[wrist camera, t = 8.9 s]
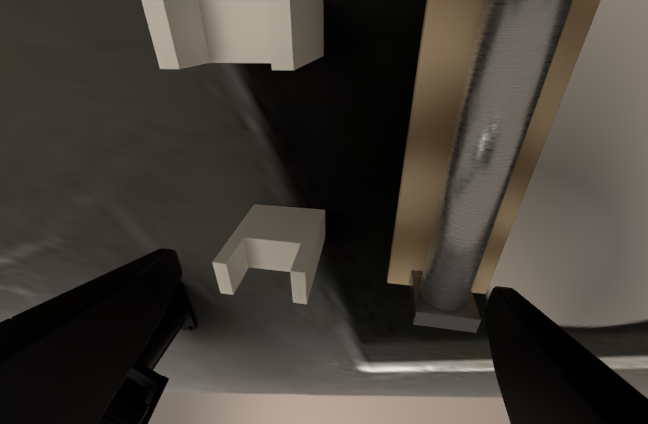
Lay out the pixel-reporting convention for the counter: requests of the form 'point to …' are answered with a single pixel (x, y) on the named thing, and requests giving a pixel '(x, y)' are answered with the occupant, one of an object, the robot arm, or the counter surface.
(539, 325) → the robot arm
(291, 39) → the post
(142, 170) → the counter surface
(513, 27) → the rail
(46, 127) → the counter surface
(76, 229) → the counter surface
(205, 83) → the counter surface
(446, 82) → the board
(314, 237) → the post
